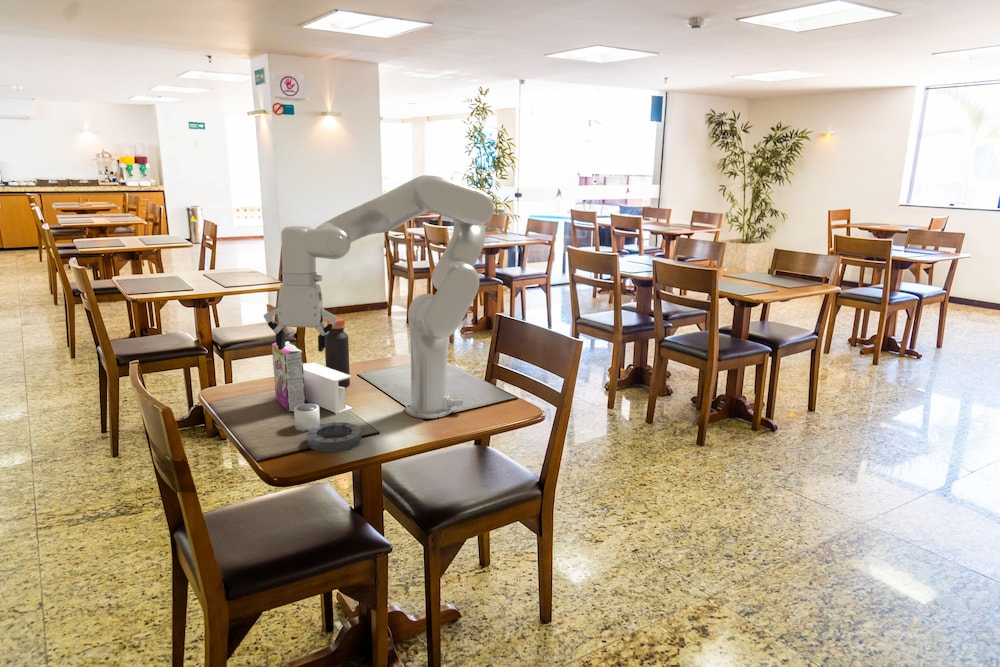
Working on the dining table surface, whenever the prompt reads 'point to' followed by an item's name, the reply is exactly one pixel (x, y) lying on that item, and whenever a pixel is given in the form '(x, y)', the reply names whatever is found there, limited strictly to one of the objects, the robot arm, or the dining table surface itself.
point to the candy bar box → (288, 375)
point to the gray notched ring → (337, 444)
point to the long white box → (325, 387)
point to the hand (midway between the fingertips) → (301, 349)
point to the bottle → (338, 350)
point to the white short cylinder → (306, 416)
